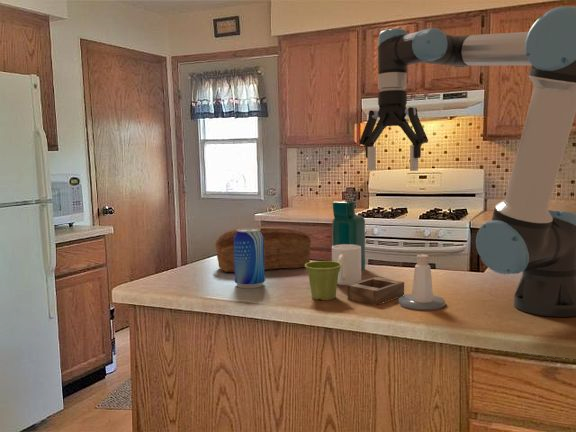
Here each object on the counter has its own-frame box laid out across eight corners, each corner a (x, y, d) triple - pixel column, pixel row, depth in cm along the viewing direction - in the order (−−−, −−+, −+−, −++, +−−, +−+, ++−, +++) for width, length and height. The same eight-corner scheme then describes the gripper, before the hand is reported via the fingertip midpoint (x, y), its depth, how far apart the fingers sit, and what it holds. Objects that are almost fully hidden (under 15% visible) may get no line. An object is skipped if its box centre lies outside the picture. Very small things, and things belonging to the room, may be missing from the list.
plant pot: (315, 304, 135) (314, 269, 134) (299, 295, 144) (298, 262, 143) (348, 299, 139) (348, 265, 138) (330, 291, 147) (330, 259, 146)
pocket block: (404, 295, 142) (404, 282, 141) (376, 305, 133) (376, 291, 133) (375, 289, 148) (375, 276, 147) (347, 298, 139) (347, 285, 139)
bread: (315, 268, 176) (314, 227, 175) (219, 275, 169) (217, 232, 168) (305, 261, 188) (304, 222, 186) (214, 267, 181) (213, 227, 179)
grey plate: (453, 303, 134) (453, 299, 133) (429, 313, 126) (429, 308, 126) (414, 295, 141) (414, 291, 141) (389, 304, 133) (389, 300, 133)
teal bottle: (344, 266, 178) (343, 198, 176) (367, 268, 174) (367, 199, 171) (328, 271, 171) (327, 201, 168) (352, 274, 166) (351, 202, 163)
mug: (354, 289, 148) (353, 252, 147) (324, 287, 151) (324, 250, 150) (364, 279, 159) (364, 244, 158) (336, 277, 162) (336, 243, 161)
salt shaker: (406, 300, 133) (406, 255, 132) (417, 295, 137) (418, 252, 136) (426, 304, 129) (427, 258, 128) (437, 299, 133) (438, 254, 132)
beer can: (271, 284, 155) (269, 229, 153) (249, 290, 149) (247, 232, 147) (250, 280, 161) (249, 226, 159) (229, 286, 155) (227, 230, 153)
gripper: (442, 87, 140) (440, 170, 143) (363, 95, 157) (363, 169, 160) (426, 85, 135) (425, 171, 137) (346, 93, 152) (347, 170, 155)
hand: (392, 170), depth 149 cm, fingers open, 13 cm apart
